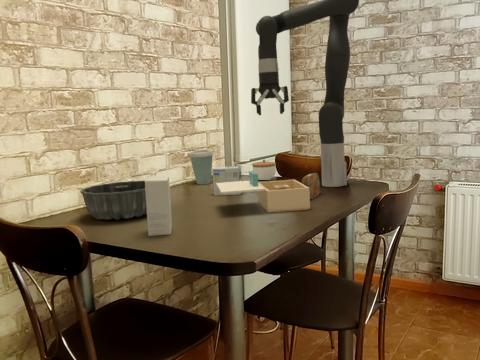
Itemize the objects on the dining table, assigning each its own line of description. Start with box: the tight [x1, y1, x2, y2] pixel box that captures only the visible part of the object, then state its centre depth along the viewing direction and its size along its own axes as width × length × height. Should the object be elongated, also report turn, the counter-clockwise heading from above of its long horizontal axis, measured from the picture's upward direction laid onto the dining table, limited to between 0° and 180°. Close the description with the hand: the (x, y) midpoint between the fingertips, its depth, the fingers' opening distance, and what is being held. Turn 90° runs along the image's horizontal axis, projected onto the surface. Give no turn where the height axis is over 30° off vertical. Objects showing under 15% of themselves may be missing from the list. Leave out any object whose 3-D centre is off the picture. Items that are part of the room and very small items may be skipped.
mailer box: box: [256, 179, 311, 214], centre depth 163 cm, size 14×19×7 cm
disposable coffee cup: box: [188, 149, 214, 185], centre depth 221 cm, size 11×11×15 cm
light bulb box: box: [212, 165, 243, 197], centre depth 191 cm, size 11×7×11 cm, turn 84°
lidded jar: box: [252, 159, 277, 181], centre depth 221 cm, size 11×11×9 cm
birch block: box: [274, 185, 290, 190], centre depth 164 cm, size 4×4×6 cm
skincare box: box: [144, 174, 173, 237], centre depth 137 cm, size 8×7×16 cm
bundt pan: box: [79, 180, 147, 221], centre depth 163 cm, size 26×26×10 cm
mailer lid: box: [216, 170, 265, 194], centre depth 161 cm, size 14×19×5 cm
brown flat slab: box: [301, 172, 321, 200], centre depth 175 cm, size 15×3×8 cm, turn 154°
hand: (270, 114), depth 188 cm, fingers open, 8 cm apart
